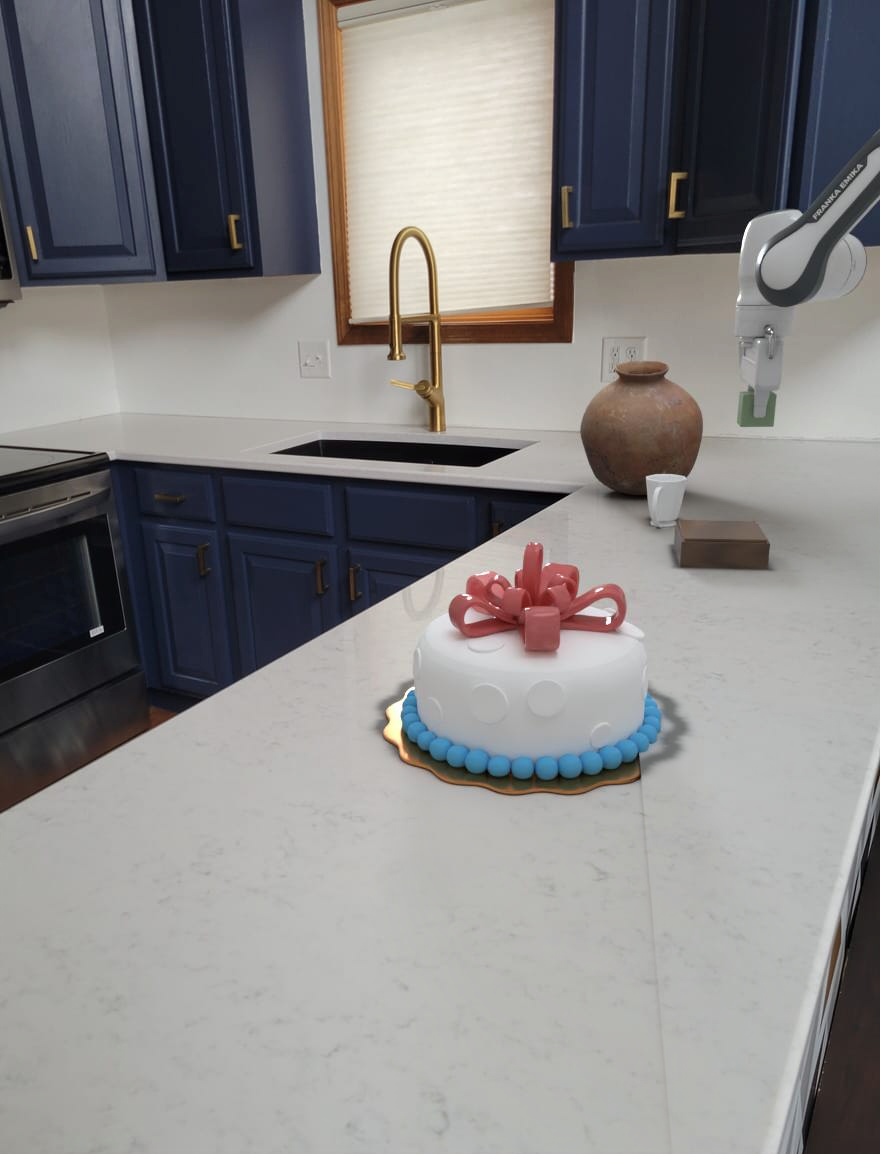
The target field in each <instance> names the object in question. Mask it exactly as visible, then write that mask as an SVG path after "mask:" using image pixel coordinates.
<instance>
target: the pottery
mask: <svg viewBox="0 0 880 1154" xmlns="http://www.w3.org/2000/svg"><path fill="white" fill-rule="evenodd" d="M614 367H615V368H614V371H615V373H616V374H617V375H618V378H617V379H616V380H614V381H612V382H610V383H609V384H607V385H606V386H604V387H602V388H601V390H600V391H598V392H597V393H596V394H595V396H593V398H592V399H591V400H590V402H588V405H587V406H586V408H585V410H584V413H583V416H582V417H581V418H582V419H581V422H580V428H579V429H580V430H579V434H580V439H581V443H582V447H583V449H584V453H585V457H586V458H587V462H588V465H589V466H590V469H591V471H592V474H593V475H594V477H595V478H596V479H597V480H598V481H599V482H600V483H601V484H602V485H603V486H605V487H607V488H608V489H610V490H612V491H614V492H617V493H620V494H625V495H630V496H631V495H632V496H647V485H646V476H650V475H655V474H674V475H681V476H685V477H686V479H688V476H689V475H690V474H691V473H692V470H693V469H694V467H695V464H696V462H697V458H698V455H699V452H700V447H701V444H702V443H701V442H702V440H703V432H704V419H703V413H702V410H701V407H700V406H699V404H698V402H697V401H696V400H695V398H694V397H693V396H692V395H691V394H690V393H689V392H688V391H687V390H686V389H684V388H683V387H681V385H679V384H677V383H675V382H673V381H671V380H669V379H667V378H666V377H665V376H666V374H667V373H668V372H669V369H670V366H669V365H668V364H666V363H664V362H662V361H659V360H658V361H657V360H655V361H653V360H642V361H640V360H634V361H627V362H621V363H619V364H617V365H615V366H614Z"/></svg>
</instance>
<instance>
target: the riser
mask: <svg viewBox="0 0 880 1154" xmlns="http://www.w3.org/2000/svg"><path fill="white" fill-rule="evenodd" d="M770 550H771V543H770V541H769V539H768V537H767V536H766V534H765V533H764V531H763V530H762V528H761V526H760V524H759V523H757V522H756V521H755V520H713V519H712V520H709V519H708V520H706V519H678V521H675V526H674V537H673V550H672V551H673V554H675V556H676V560H677V562H678V567H679V568H686V569H688V568H689V569H690V568H691V569H726V570H727V569H728V570H729V569H730V570H768V567H769V557H770Z"/></svg>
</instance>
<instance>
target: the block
mask: <svg viewBox="0 0 880 1154" xmlns="http://www.w3.org/2000/svg"><path fill="white" fill-rule="evenodd" d="M738 394H739V395H738V405H737V414H736V415H737V417H736V423H737V425H738V426H739V427H740V428H773V427H774V426H775V416H776V407H777V406H776V405H777V394H776V393H775V392H774V391H770V396H769V399H768V403H767V406H766V415H765V417H763V418H755V417H754V416H753V405H754V397H755V395H754V391H749V392H747V391H739V392H738Z"/></svg>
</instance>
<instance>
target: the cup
mask: <svg viewBox="0 0 880 1154" xmlns="http://www.w3.org/2000/svg"><path fill="white" fill-rule="evenodd" d="M687 482H688V478H686V477H685V476H681V475H674V474H655V475H650V476H646V485H647V495H646V496H647V505H648V510H649V516H650V518H651V520H650V526H652V527H655V528H658V529H659V528H671V527H675V522H676V520H677V519H678V517H679V515H680V511H681V508H682V504H683V499H684V496H685V492H686V486H687Z"/></svg>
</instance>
